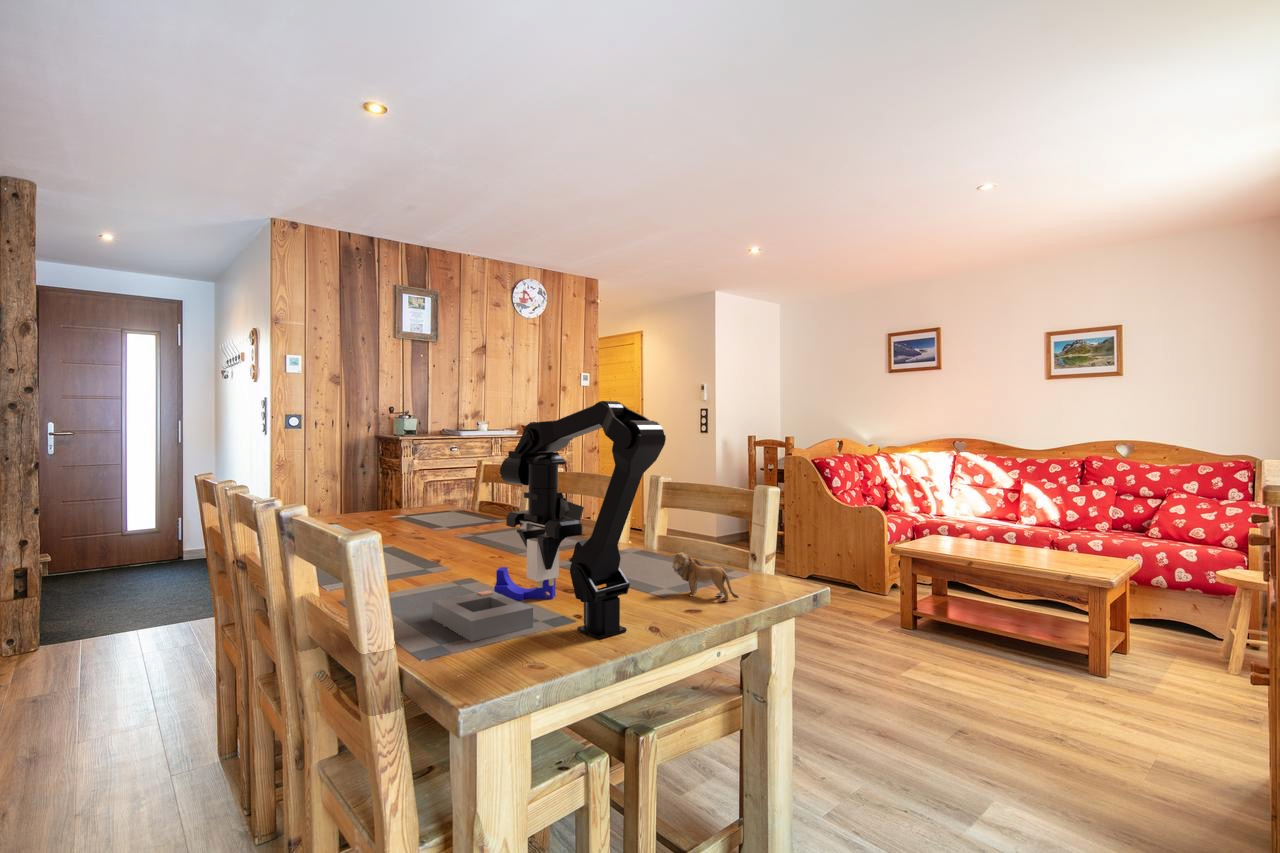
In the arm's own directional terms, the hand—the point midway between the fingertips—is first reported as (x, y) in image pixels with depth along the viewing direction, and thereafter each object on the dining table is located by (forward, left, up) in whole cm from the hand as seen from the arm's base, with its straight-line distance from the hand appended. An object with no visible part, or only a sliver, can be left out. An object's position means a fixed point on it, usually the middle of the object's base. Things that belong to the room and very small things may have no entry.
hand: (542, 567), depth 123 cm
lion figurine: (-12, -32, -9) cm, 36 cm away
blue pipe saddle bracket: (+12, -3, -9) cm, 15 cm away
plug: (0, 0, -3) cm, 3 cm away
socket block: (+2, +12, -9) cm, 15 cm away
